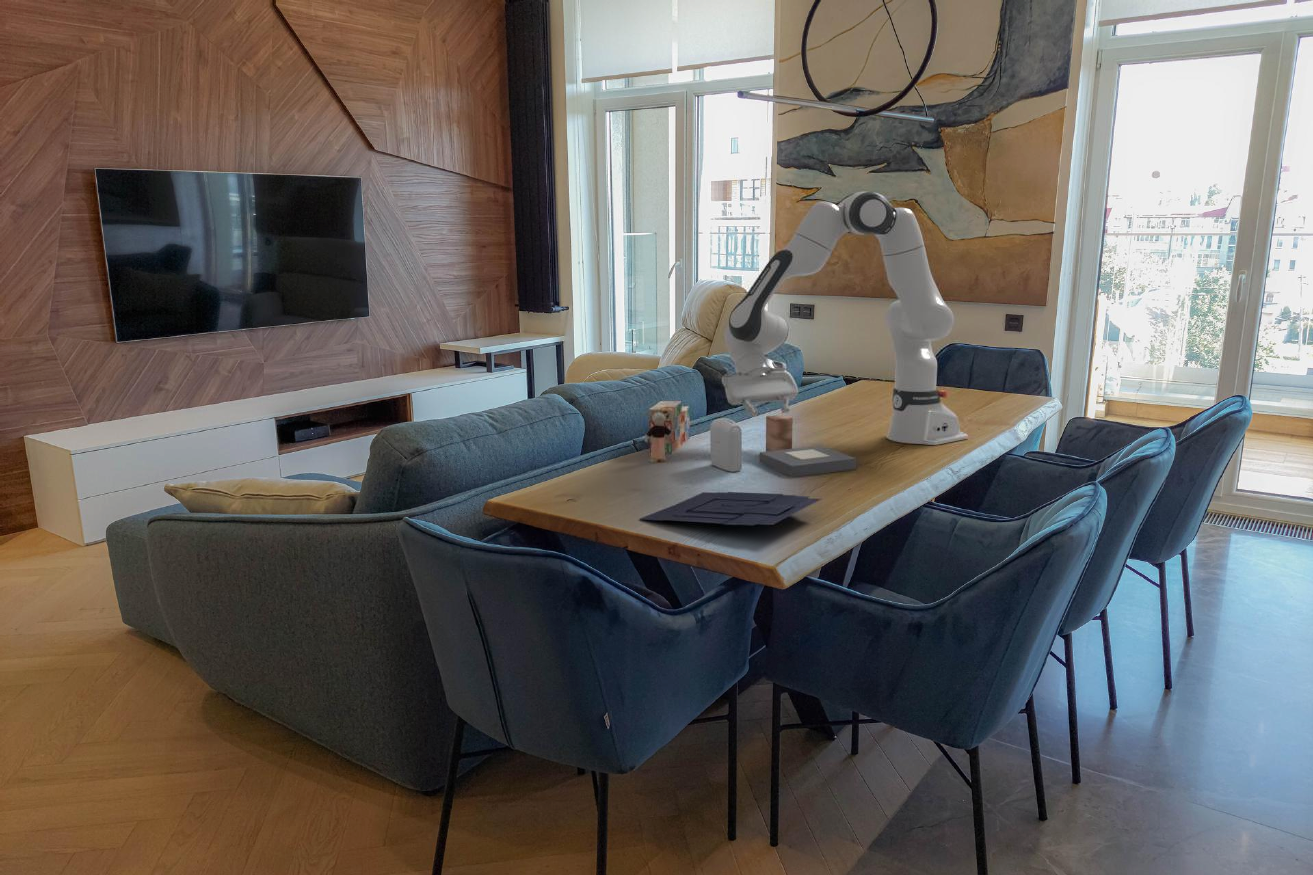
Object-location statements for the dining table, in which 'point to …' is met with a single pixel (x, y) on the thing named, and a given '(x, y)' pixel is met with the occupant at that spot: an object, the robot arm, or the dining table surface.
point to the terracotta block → (778, 432)
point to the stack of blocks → (672, 423)
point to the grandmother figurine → (658, 438)
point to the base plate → (807, 461)
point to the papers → (734, 508)
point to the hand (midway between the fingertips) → (770, 413)
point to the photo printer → (726, 445)
